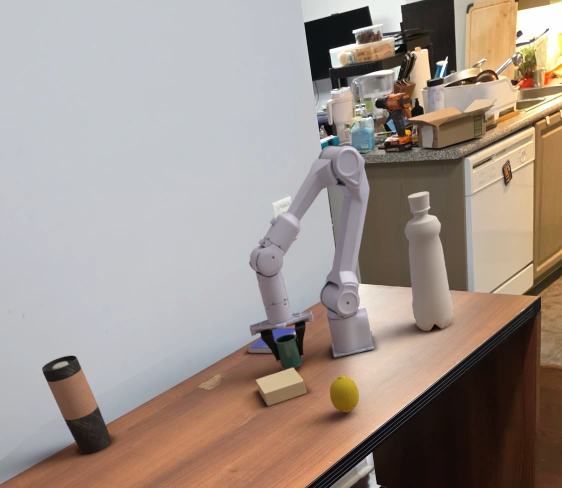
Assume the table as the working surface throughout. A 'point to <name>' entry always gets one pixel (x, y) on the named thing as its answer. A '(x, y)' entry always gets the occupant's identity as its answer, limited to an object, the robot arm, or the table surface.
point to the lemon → (344, 394)
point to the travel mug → (77, 404)
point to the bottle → (427, 266)
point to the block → (281, 386)
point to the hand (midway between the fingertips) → (289, 356)
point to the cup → (288, 351)
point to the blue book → (262, 346)
